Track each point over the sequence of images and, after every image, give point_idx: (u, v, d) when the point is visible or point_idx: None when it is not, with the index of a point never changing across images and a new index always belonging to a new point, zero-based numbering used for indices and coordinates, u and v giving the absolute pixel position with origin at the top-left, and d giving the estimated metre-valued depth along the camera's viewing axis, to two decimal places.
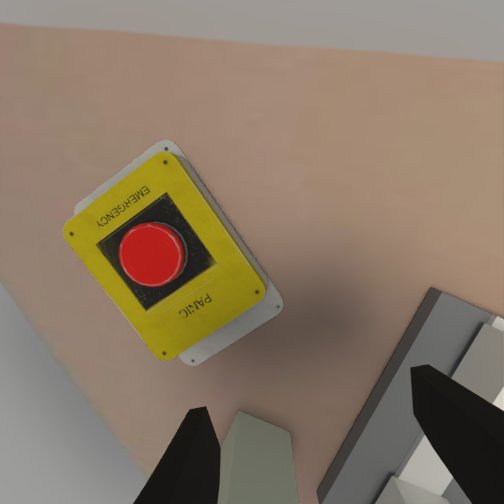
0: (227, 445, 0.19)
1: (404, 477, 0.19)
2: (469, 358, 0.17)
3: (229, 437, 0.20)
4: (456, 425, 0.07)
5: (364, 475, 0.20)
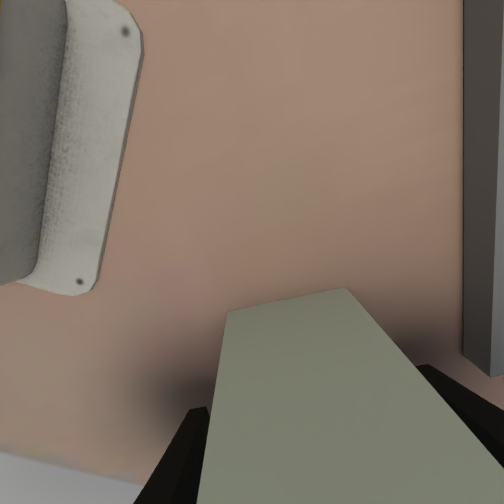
0: None
1: None
2: None
3: None
4: None
5: None
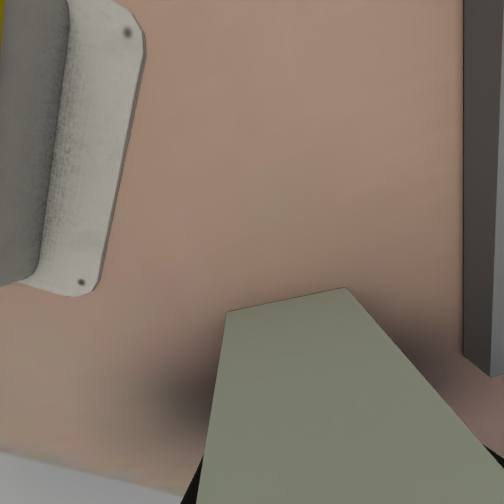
0: None
1: None
2: None
3: None
4: None
5: None
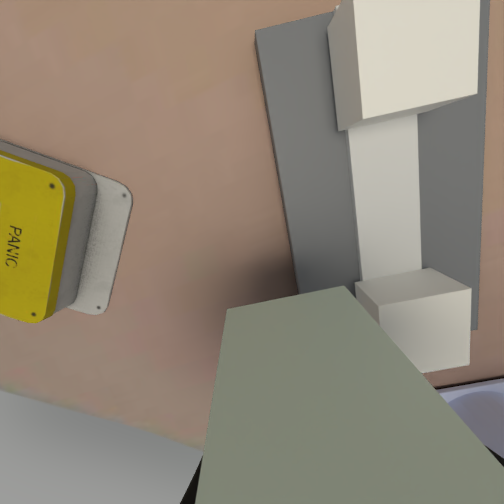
0: None
1: (368, 275, 0.16)
2: (336, 86, 0.12)
3: None
4: None
5: None
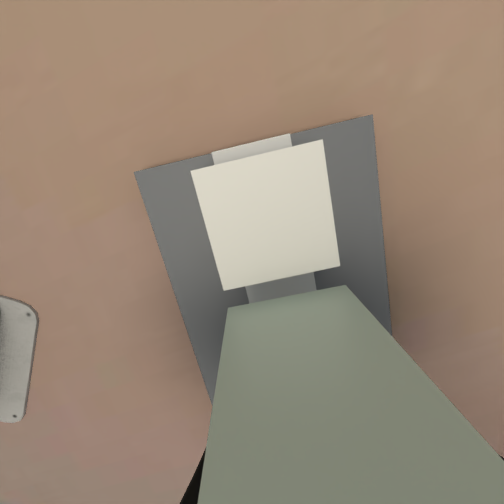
0: None
1: None
2: None
3: None
4: None
5: None
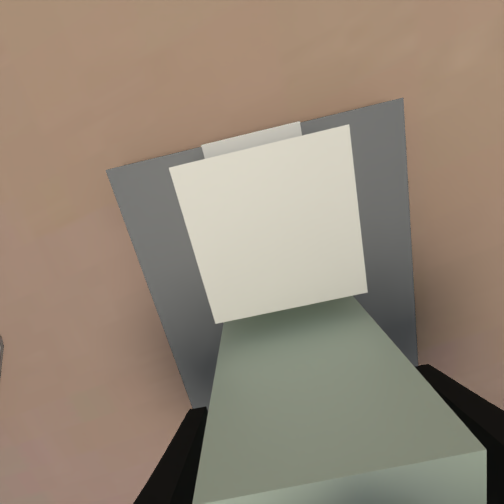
0: None
1: None
2: None
3: None
4: None
5: None
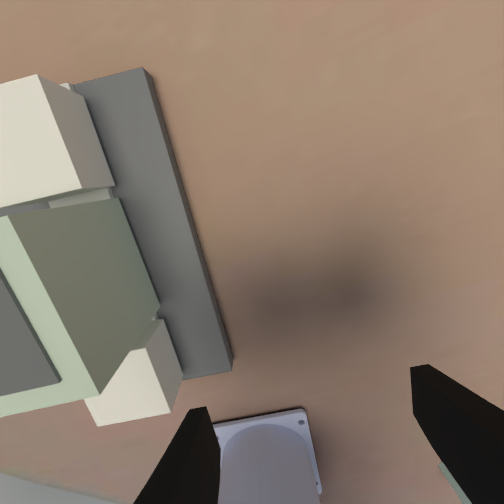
0: None
1: None
2: None
3: None
4: (455, 425, 0.07)
5: None
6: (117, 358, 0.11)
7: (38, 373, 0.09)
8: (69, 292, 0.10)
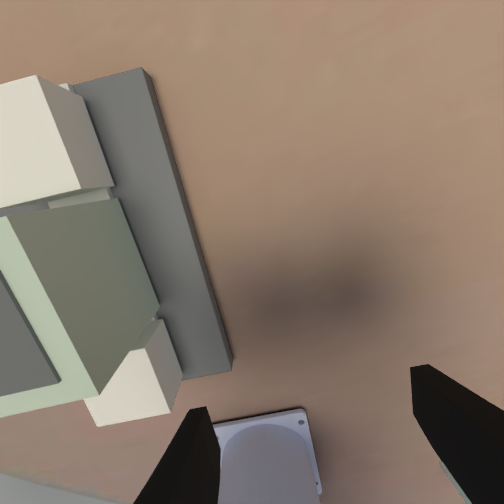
0: None
1: None
2: None
3: None
4: (455, 425, 0.07)
5: None
6: (116, 358, 0.11)
7: (37, 373, 0.09)
8: (68, 292, 0.10)
